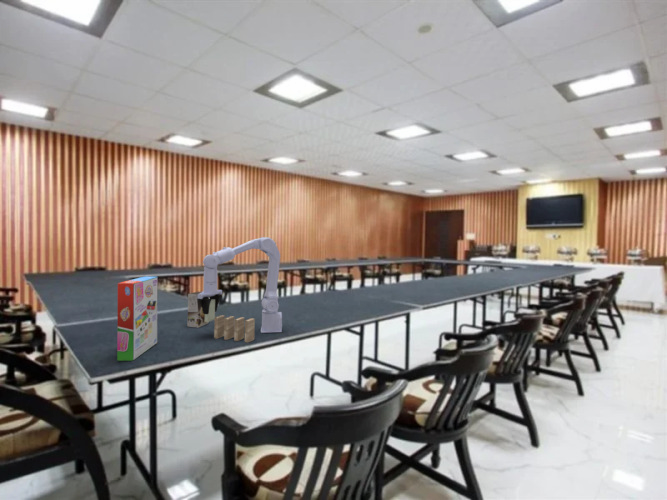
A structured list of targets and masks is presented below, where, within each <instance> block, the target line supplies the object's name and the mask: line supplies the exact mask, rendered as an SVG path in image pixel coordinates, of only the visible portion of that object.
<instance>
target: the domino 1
mask: <svg viewBox="0 0 667 500" xmlns="http://www.w3.org/2000/svg"><path fill="white" fill-rule="evenodd" d="M215 317H216V312H215V299H212V300H211V302H210V306H209V313H208V314H205V322H212V321H214V320H215Z"/></svg>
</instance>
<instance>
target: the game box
mask: <svg viewBox="0 0 667 500" xmlns="http://www.w3.org/2000/svg"><path fill="white" fill-rule="evenodd" d="M116 326H117V332H116V333H117V336H116V338H117V339H116V340H117V341H116V342H117V343H116V344H117V348H116V349H117V353H116V357H117V358H116V360H117V362H119V361H120V362H121V361H123V362H125V361H126V362H127V361H128V362H130V361H131V362H133V361H134V360H136V359H137V358H139V356H141V355H143V354H144V353H145V352H147V351H148V350H150V349H151V348H152V347H154V346H155V345H157V344H158V276H149V275H148V276H145V275H144V276H141V277H137V278H134V279H129V280H124V281H121V282H118V283H117V325H116Z"/></svg>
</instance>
